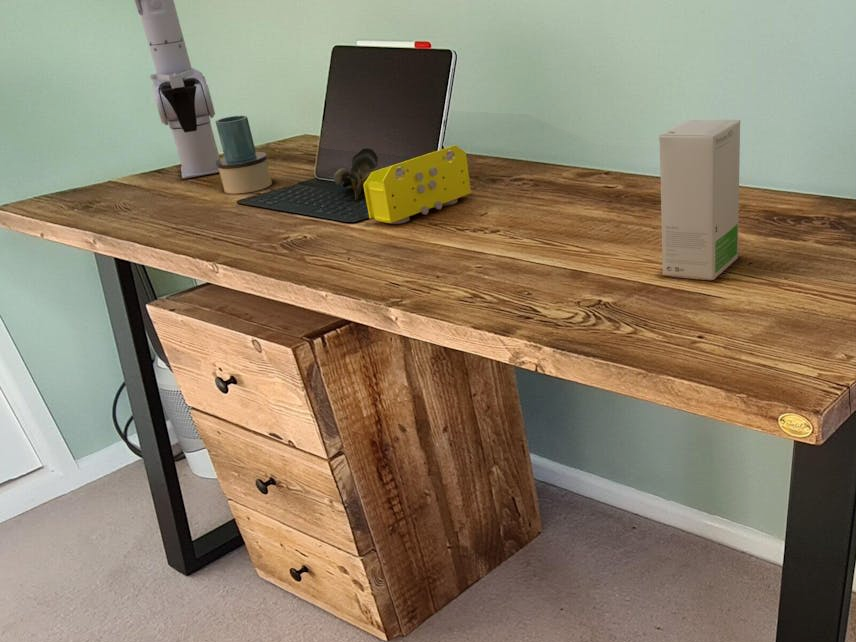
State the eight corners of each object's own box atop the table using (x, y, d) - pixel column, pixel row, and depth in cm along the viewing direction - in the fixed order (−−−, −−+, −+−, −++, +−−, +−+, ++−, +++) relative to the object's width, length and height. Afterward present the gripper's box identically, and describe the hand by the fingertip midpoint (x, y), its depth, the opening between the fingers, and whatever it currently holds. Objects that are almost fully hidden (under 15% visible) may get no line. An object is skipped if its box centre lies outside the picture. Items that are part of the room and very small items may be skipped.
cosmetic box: (713, 282, 99) (715, 136, 91) (657, 276, 102) (654, 134, 94) (740, 257, 105) (744, 117, 97) (686, 252, 108) (686, 116, 100)
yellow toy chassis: (394, 229, 128) (383, 169, 124) (369, 223, 132) (358, 165, 127) (473, 198, 138) (466, 142, 133) (448, 194, 141) (441, 139, 137)
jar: (221, 186, 162) (214, 157, 159) (270, 177, 164) (263, 148, 161) (224, 197, 155) (216, 167, 152) (275, 187, 157) (268, 158, 154)
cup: (224, 157, 158) (214, 119, 155) (254, 152, 159) (245, 114, 156) (227, 163, 154) (216, 124, 150) (258, 158, 155) (248, 118, 152)
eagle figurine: (390, 188, 143) (390, 165, 150) (358, 155, 139) (359, 132, 146) (355, 217, 146) (356, 193, 153) (323, 186, 142) (326, 162, 148)
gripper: (142, 43, 154) (166, 126, 161) (140, 49, 142) (166, 138, 149) (184, 37, 156) (206, 119, 163) (186, 42, 144) (209, 131, 150)
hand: (190, 128), depth 156 cm, fingers open, 7 cm apart
